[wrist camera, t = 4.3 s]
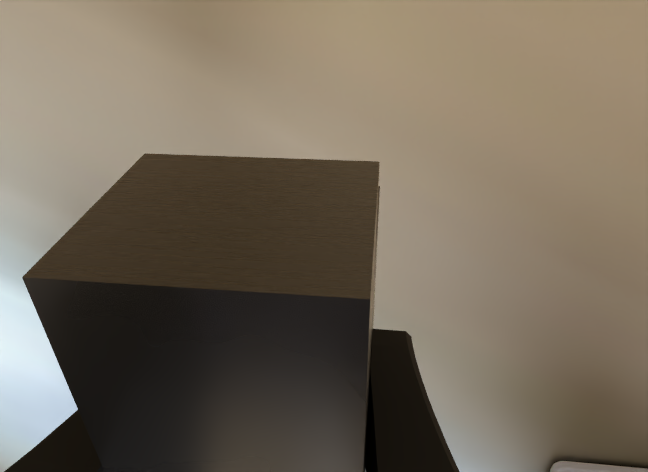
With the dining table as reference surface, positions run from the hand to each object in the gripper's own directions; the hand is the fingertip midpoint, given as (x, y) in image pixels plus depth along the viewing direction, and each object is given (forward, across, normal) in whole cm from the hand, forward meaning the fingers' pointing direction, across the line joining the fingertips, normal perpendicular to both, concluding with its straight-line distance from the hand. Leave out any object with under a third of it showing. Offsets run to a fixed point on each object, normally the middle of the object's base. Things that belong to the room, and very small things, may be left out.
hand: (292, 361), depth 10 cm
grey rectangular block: (+2, 0, 0) cm, 2 cm away
